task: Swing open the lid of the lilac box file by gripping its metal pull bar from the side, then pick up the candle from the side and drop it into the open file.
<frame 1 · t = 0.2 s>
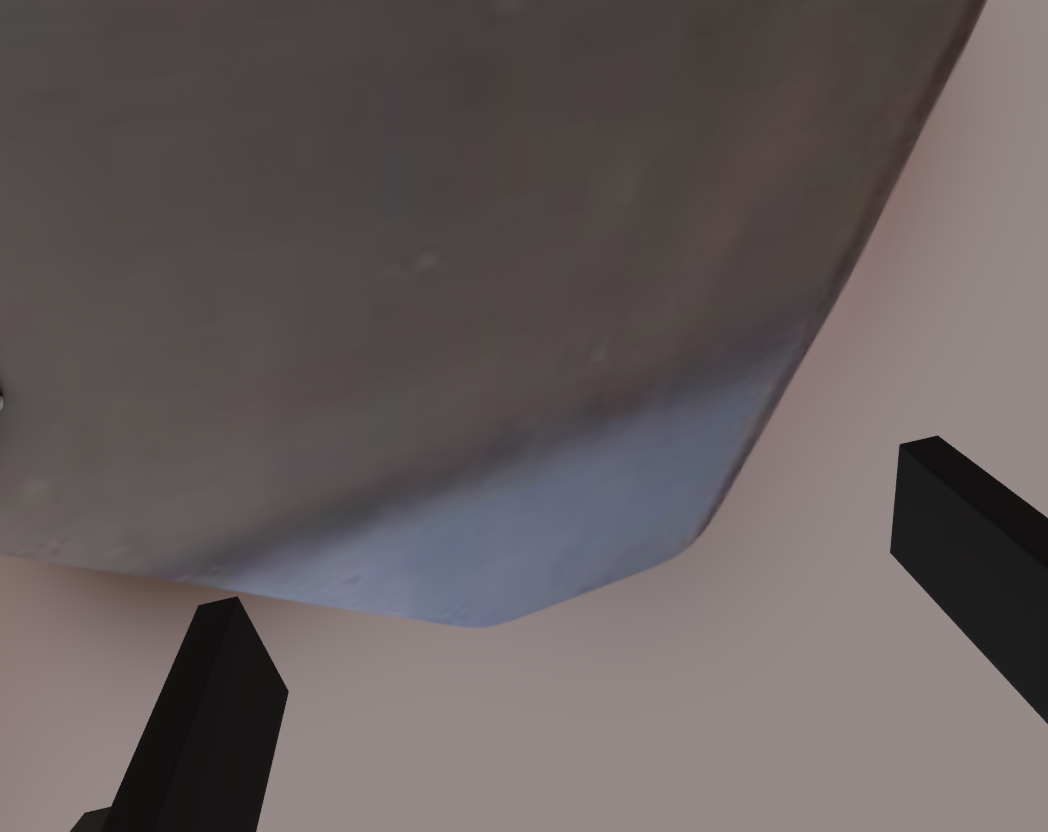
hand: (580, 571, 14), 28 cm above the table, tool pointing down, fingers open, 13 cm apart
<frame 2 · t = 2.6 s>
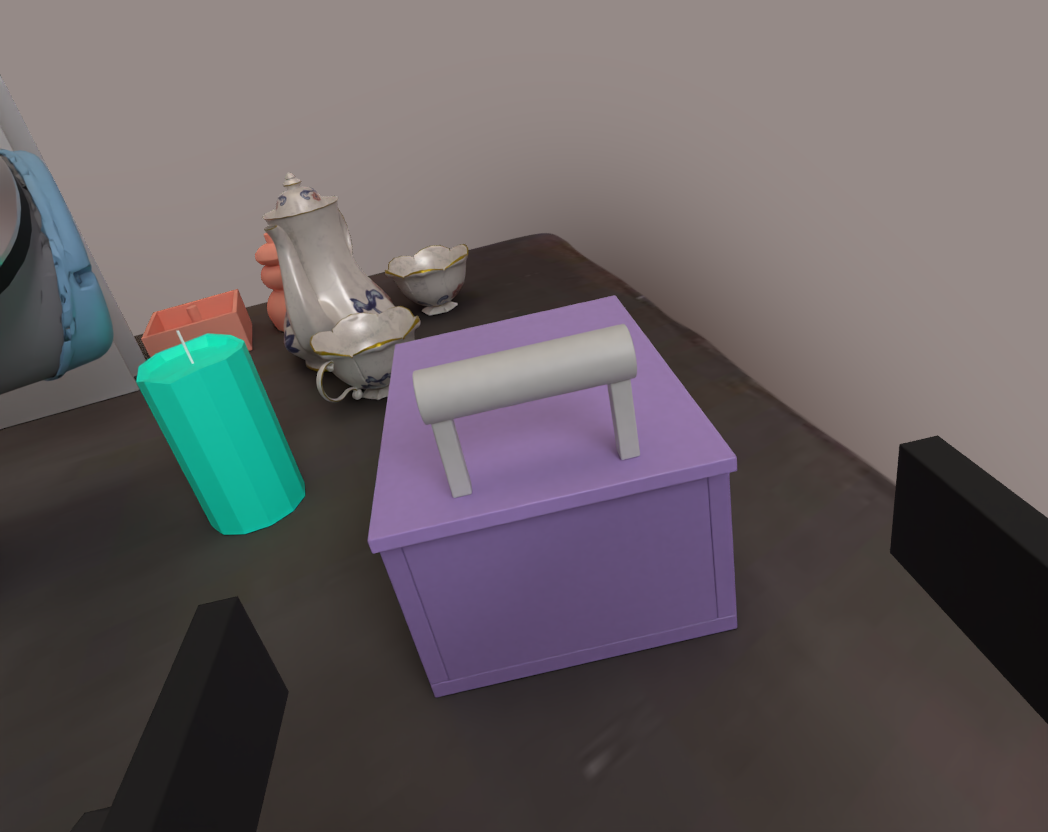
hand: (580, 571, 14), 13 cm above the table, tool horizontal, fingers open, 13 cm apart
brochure: (72, 401, 67), on the table
pottery: (252, 337, 74), on the table
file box: (555, 536, 35), on the table
chinaware: (380, 350, 63), on the table
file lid: (513, 343, 29), point 11 cm above the table, hinge at 0.0°
candle: (260, 506, 43), on the table
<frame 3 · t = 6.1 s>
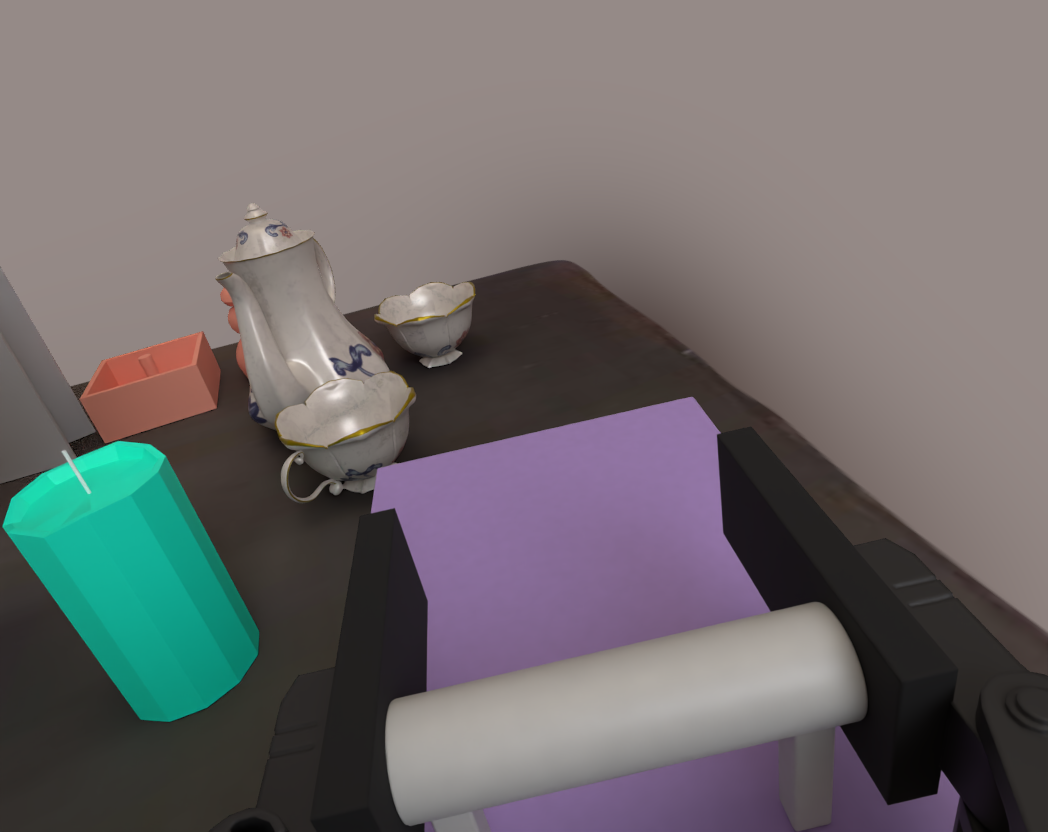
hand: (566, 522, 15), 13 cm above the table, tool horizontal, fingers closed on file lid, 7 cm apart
pottery: (219, 390, 62), on the table
chinaware: (368, 415, 52), on the table
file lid: (563, 524, 18), point 11 cm above the table, hinge at 0.0°, touching gripper
candle: (197, 668, 32), on the table
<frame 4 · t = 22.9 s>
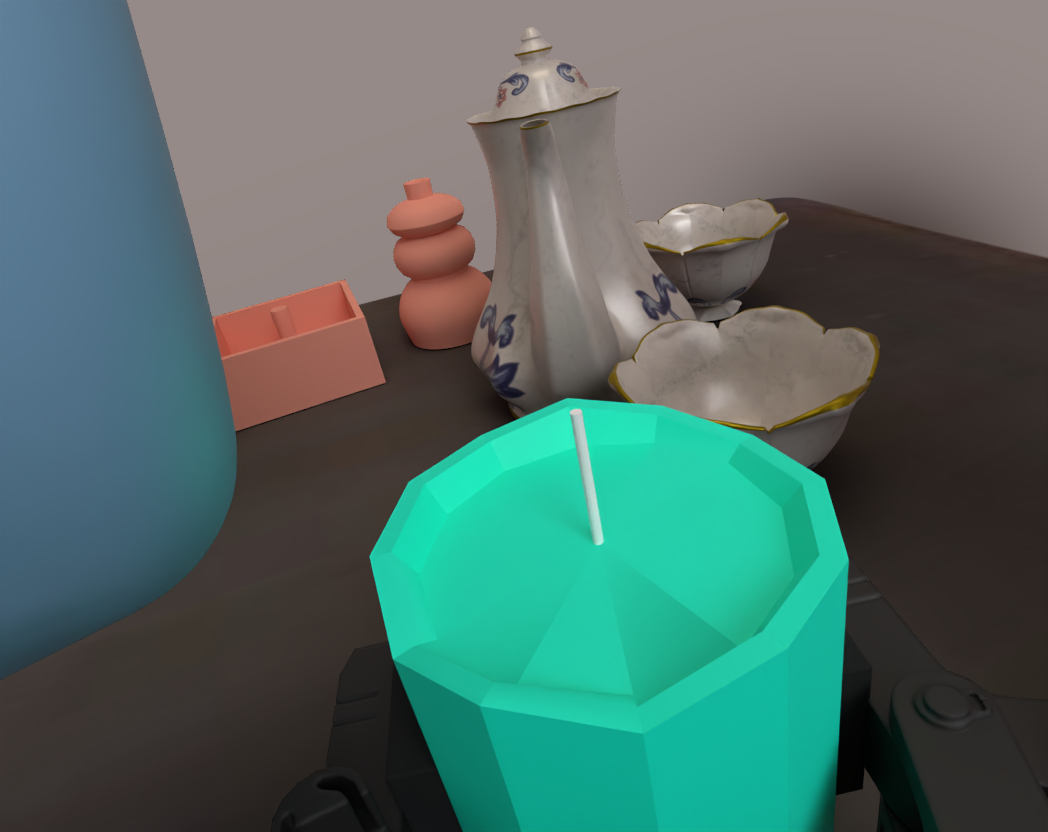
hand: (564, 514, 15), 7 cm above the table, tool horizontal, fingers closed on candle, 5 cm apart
pottery: (373, 359, 44), on the table
chinaware: (650, 388, 34), on the table
when the fingers open (11 cm above the table, at t = 40.0 s): candle drops 2 cm, point 2 cm above the table.
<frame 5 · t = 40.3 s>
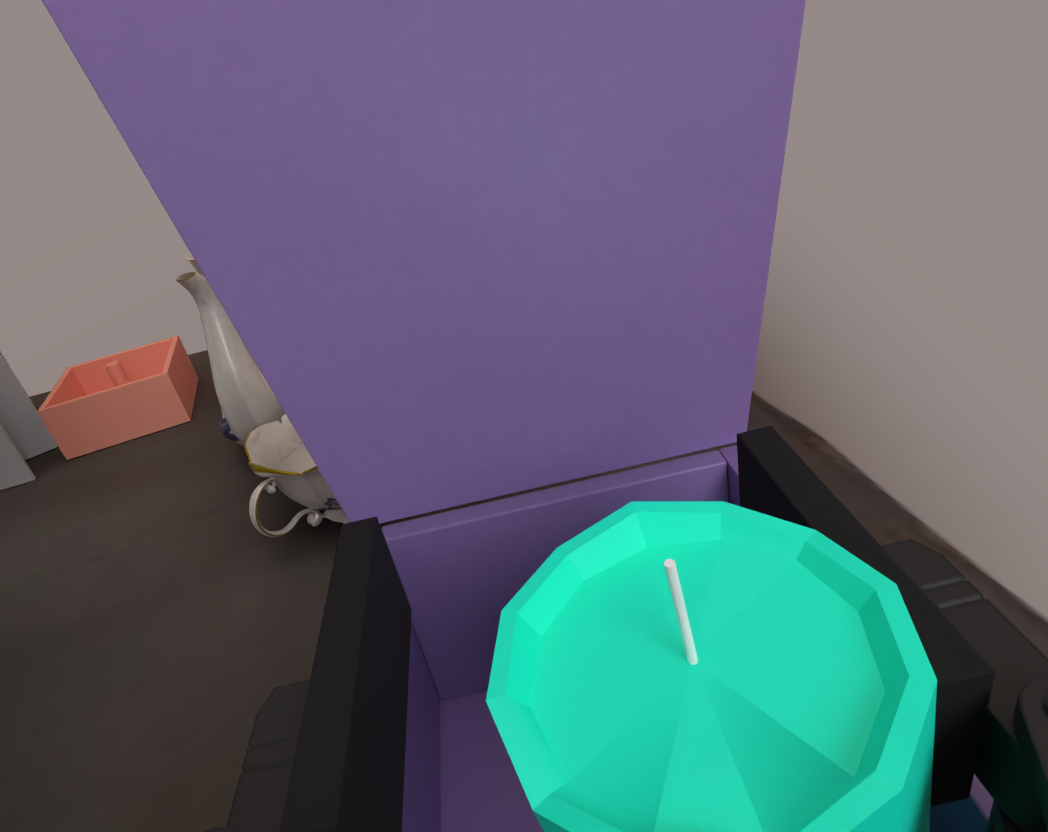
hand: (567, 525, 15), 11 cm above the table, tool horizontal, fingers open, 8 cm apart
pottery: (195, 400, 57), on the table
chinaware: (355, 430, 47), on the table
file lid: (487, 189, 17), point 18 cm above the table, hinge at 72.3°
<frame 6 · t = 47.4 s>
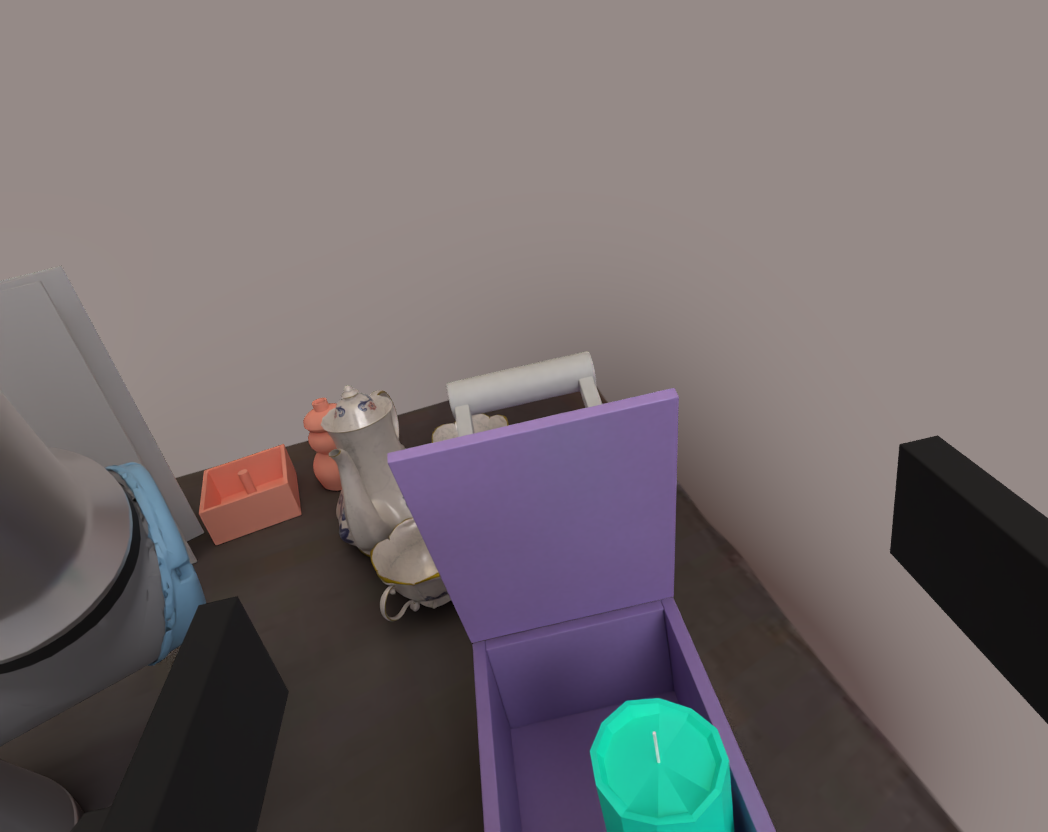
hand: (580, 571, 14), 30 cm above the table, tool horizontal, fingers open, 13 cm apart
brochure: (132, 570, 70), on the table
pottery: (298, 494, 77), on the table
chinaware: (427, 530, 66), on the table
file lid: (546, 500, 37), point 18 cm above the table, hinge at 72.3°
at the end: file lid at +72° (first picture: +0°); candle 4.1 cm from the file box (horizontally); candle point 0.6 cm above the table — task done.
